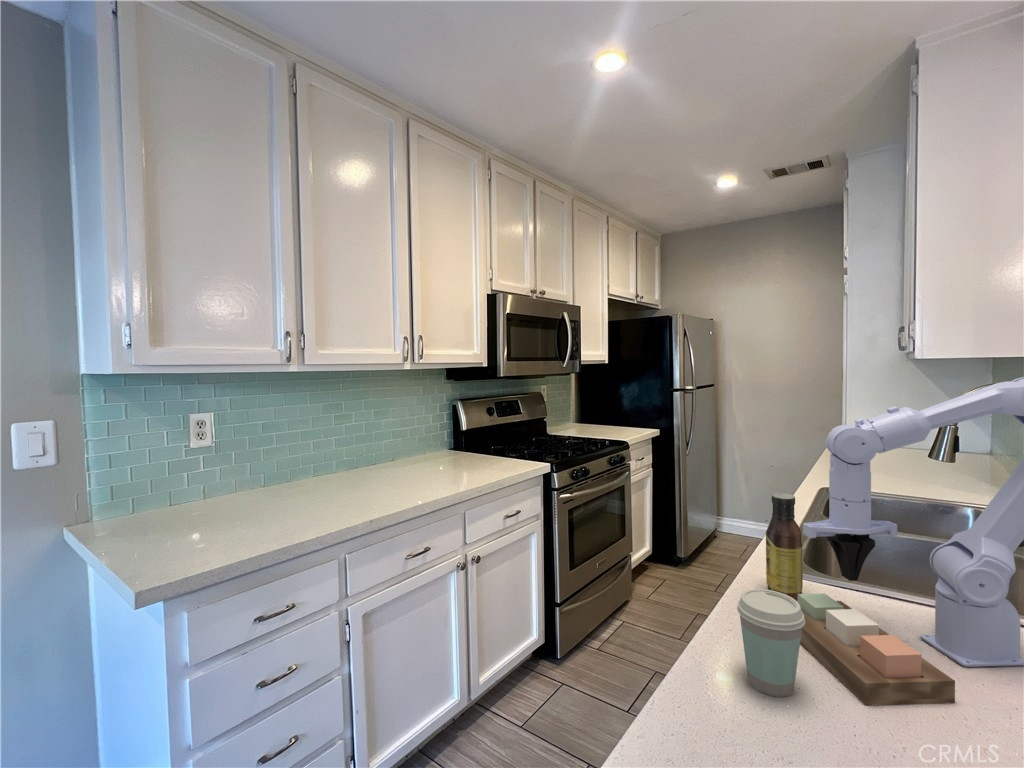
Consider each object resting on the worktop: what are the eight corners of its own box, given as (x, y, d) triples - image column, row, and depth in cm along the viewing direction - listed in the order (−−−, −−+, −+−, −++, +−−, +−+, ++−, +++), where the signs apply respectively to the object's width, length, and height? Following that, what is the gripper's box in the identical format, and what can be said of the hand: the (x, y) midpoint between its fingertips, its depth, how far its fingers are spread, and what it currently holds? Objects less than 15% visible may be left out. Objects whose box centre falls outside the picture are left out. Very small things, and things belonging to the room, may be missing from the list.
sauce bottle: (773, 584, 100) (772, 488, 99) (807, 594, 95) (807, 494, 94) (760, 594, 95) (760, 495, 95) (795, 605, 91) (795, 501, 90)
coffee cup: (815, 707, 64) (815, 618, 64) (746, 700, 66) (746, 613, 65) (792, 667, 72) (791, 589, 72) (731, 662, 74) (730, 585, 74)
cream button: (855, 633, 78) (855, 608, 78) (878, 651, 73) (878, 624, 73) (825, 634, 78) (825, 609, 77) (846, 651, 73) (847, 625, 73)
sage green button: (824, 615, 85) (824, 593, 85) (843, 630, 80) (843, 606, 80) (797, 616, 85) (797, 594, 85) (815, 631, 80) (815, 607, 80)
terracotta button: (892, 661, 70) (892, 634, 70) (921, 683, 65) (921, 654, 65) (860, 662, 70) (860, 635, 70) (885, 684, 65) (886, 655, 65)
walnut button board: (840, 617, 86) (840, 600, 86) (954, 702, 64) (955, 680, 64) (774, 619, 86) (773, 602, 86) (865, 705, 64) (865, 683, 64)
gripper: (874, 490, 85) (874, 566, 85) (792, 492, 84) (792, 569, 85) (908, 501, 78) (907, 584, 78) (818, 504, 77) (818, 587, 78)
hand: (849, 578), depth 81 cm, fingers closed
